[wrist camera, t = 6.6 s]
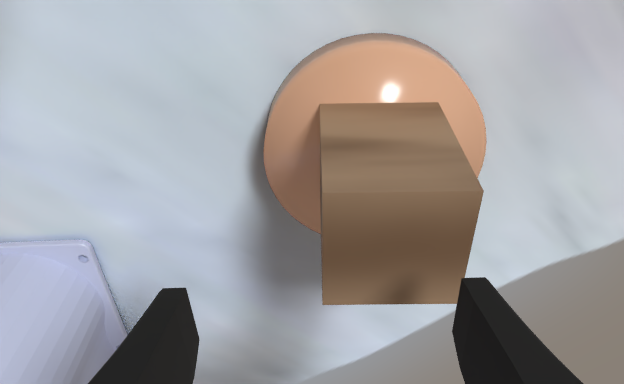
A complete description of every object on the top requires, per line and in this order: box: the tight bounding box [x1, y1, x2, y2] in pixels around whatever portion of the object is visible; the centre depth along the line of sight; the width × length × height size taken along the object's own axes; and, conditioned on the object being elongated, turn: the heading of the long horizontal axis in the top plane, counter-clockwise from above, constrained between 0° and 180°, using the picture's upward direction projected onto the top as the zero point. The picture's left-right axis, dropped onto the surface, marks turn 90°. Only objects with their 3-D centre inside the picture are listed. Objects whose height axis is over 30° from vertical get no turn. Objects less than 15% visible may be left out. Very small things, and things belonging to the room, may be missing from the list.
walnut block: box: [320, 102, 484, 305], centre depth 17 cm, size 4×4×6 cm
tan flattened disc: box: [264, 33, 486, 234], centre depth 21 cm, size 9×9×2 cm
